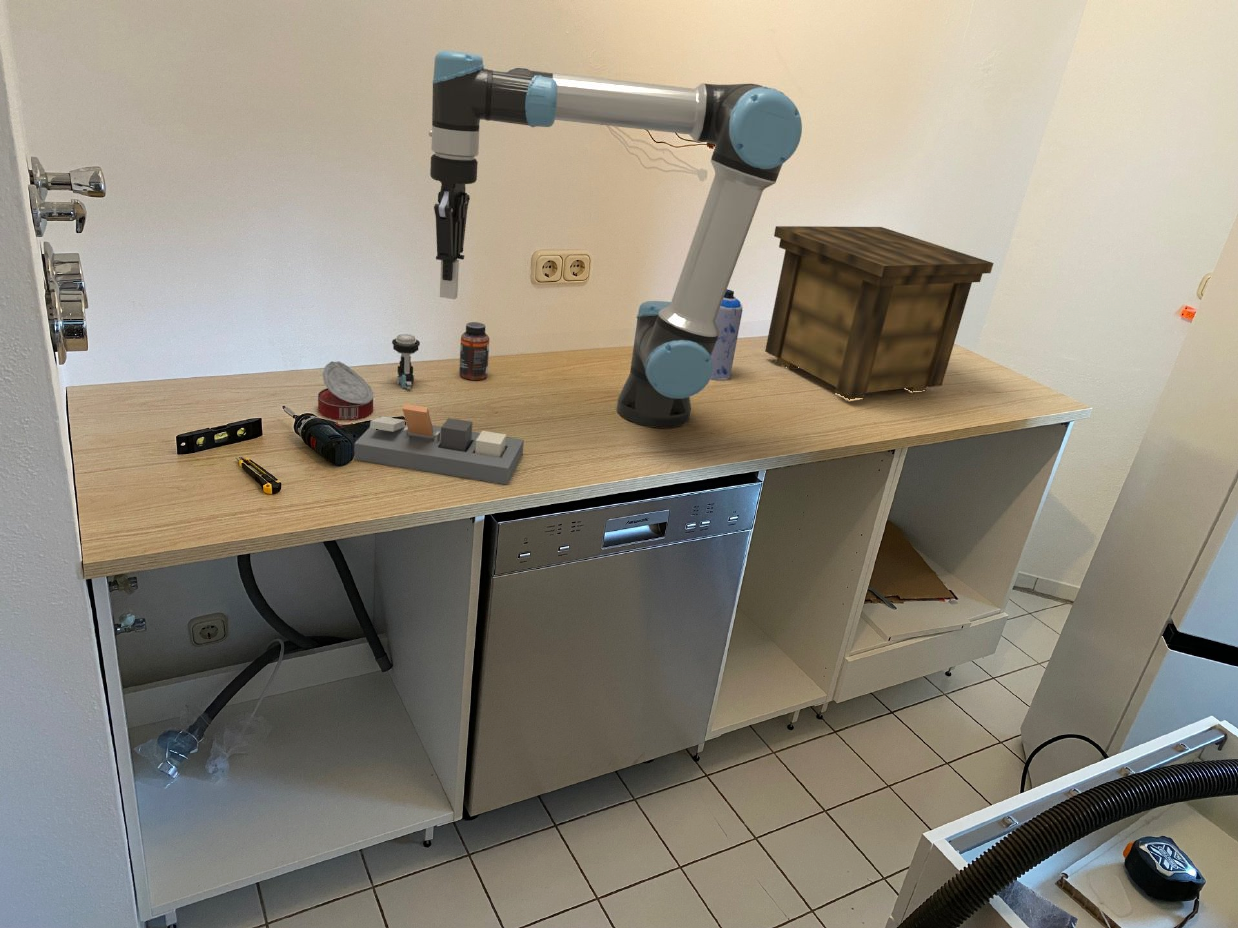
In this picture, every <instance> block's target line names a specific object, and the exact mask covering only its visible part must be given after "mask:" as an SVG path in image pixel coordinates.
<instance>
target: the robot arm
mask: <svg viewBox="0 0 1238 928" xmlns="http://www.w3.org/2000/svg"><path fill="white" fill-rule="evenodd" d="M483 60H484V59H483V57H482V56H481V55H479V54H476V53H469V52H462V51H455V50H441V51H438V52H437V54H436V55H435V56H434V64H433V65H434V66H433V78H432V105H431V106H432V109H431V110H432V112H431V116H432V117H431V119H432V120H431V129H430V130H429V131H428V136H429V137H431V151H432V152H434V154H433V153H432V156H430V172H429V174H430V178H431V179H433V180H435V181H437V182H440V183H441V186H440V191H438V193H437V203H435V204H434V206H433V211H434V216H435V231H436V233H435V234H436V235H435V236H436V237H435V238H436V257H435V260H438V261H440V278H439V279H440V281H439V283H440V284H439V297H440V298H444V299H451V300H456V299H457V298H458V293H459V291H458V290H459V270H460V269H459V268H460V260H464V259H465V255H464V254H463V252H464V244H465V234H466V228H467V227H466V225H467V218H468V209H469V203H470V199H471V197H470V195H469V194H468V192H466V189H467V188H466V185H470V184H471V185H472V184H475V183H476V182H477V179H478V164H479V163H478V160H477V159H476V157H478V155H479V150H480V149H479V148H480V122H481V120H484V121H487V122H488V121H492V122H500V123H505V124H506V123H507V124H514V125H522V126H530V127H531V128H535V127H537V128H538V127H542V128H549V127H552V126H553V125H554V124H555V121H563V122H571V123H573V122H574V123H580V124H581V123H582V124H589V125H591V124H592V125H597V126H598V125H600V126H607V127H608V126H609V127H610V126H611V127H617V128H618V127H619V128H626V129H627V128H628V129H636V130H646V131H655V132H662V133H663V132H664V133H675V134H681V135H689V136H690V137H691V138H692V140H693V142H703V143H708V144H712V145H715V146H714V148H713V151H712V155H711V158H710V163H711V165H712V167H713V169H714V173H715V174H714V176H713V180H712V182H711V184H710V185H711V186H710V188H709V191H708V194H707V197H706V199H705V202H704V206H703V209H702V211H701V215H700V217H699V220H698V223H697V227H696V229H695V232H694V235H693V237H692V240H691V244H690V245H689V250H688V251H687V252H688V253H687V256H686V257H685V261H684V265H683V267H682V270H681V273H680V275H679V278H678V281H677V284H676V287H675V289H674V293H673V296H672V298H671V301H664V300H663V301H662V300H649V301H648V300H647V301H644V302H642V303H640V305H639V307H638V313H637V315H636V319H637V320H636V327H635V333H634V341H633V348H632V354H631V355H632V357H631V362H630V364H631V365H630V371H629V375H628V377H627V379H626V381H625V383H624V384H623V386H622V389H621V391H620V393H619V395H618V397H617V404H616V411H617V413H618V414H619V415H620V416H621V417H622V418H624V419H625V420H627V421H629V422H632V423H634V424H638V425H640V426H645V427H651V428H660V429H661V428H662V429H668V428H677V427H682V426H684V425H686V424H687V423H689V421H690V419H691V413H692V404H691V398H690V397H693V396H695V395H697V394H698V393H700V392H702V391H703V390H704V389H705V387H706V386H707V385H708V384H709V382H710V381H711V379H710V378H711V375H712V370H713V366H712V365H713V361H712V358H711V355H712V352H713V349H714V347H715V344H716V341H717V339H718V336H719V333H720V332H719V329H718V327H717V325H716V323H715V320H716V317H717V314H718V312H719V309H720V306H721V303H722V301H723V298H724V295H725V293H726V290H727V289H728V287H729V284H730V281H731V279H732V277H733V276H732V275H733V273H734V271H735V268H736V266H737V262H738V259H739V257H740V254H741V251H742V249H743V247H744V243H745V241H746V238H747V235H748V233H749V231H750V228H751V225H752V222H753V219H754V217H755V213H756V211H757V209H758V206H759V203H760V200H761V197H762V195H763V192H764V190H765V189H767V188H769V187H771V186H773V185H775V184H776V183H777V180H778V177H779V174H780V172H781V170H782V166H783V165H784V164H785V163H786V162H787V161H788V160H790V158H791V157H792V156H793V155H794V153H795V152H796V151H797V148H798V146H799V145H800V142H801V138H802V132H803V123H802V118H801V115H800V112H799V109H798V107H797V106H796V104H795V103H794V101H793V100H792V99H791V98H790V97H789V96H787V95H786V94H785V93H784V92H782V91H781V90H778V89H776V88H774V87H773V88H772V87H767V86H763V85H761V84H757V83H736V84H734V83H733V84H713V83H702V82H701V83H700V84H699V85H698V86H697V87H695V88H692V87H682V86H673V85H665V84H664V85H663V84H655V83H646V82H638V81H637V82H636V81H629V80H621V79H610V78H602V77H601V78H600V77H595V76H594V77H591V76H583V75H574V74H566V73H556V72H551V73H550V72H546V71H538V70H530V69H529V68H524V67H515V68H513V69H511V68H510V69H509V70H508V71H498V70H492V69H488V68H484V67H485V65H484V61H483Z"/></svg>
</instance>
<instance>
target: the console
mask: <svg viewBox="0 0 1238 928" xmlns="http://www.w3.org/2000/svg"><path fill="white" fill-rule="evenodd" d="M380 417H381V416H379V417H378V418H380ZM405 422H406V420H405ZM442 426H443V425H435V424H432V427H433V431H434V432H435V437H434V439H428V438H422V437H416V436H409V435H408V427H407V424H406V425H405V426H404V427H403V428H401V429H398V430H396V431H394V432H392V431H386V430H380V429H378V430H376V429H374V428H370V427H368V428H367V430H366V431H365V432H364V433H363V434H362V435H361V436H359V438H358V439H357V440H356V441H355V442H354V451H353V452H354V461H362V462H368V463H373V464H379V465H385V466H391V467H396V468H397V467H398V468H402V469H403V468H404V469H407V470H408V469H410V470H415V471H422V472H427V473H432V474H433V473H434V474H439V475H447V476H451V477H458V478H464V479H471V480H474V481H475V480H477V481H481V480H482V481H483V482H489V483H495V484H501V485H508V484H509V482H510V480H511V478H512V477H513V474H514V472H515V470H516V468H517V467H518V465H519V463H520V461H521V459H522V457H523V455H524V454H523V453H524V442H525V440H524V439H521V438H517V437H516V438H514V437H510V436H509V437H508V436H506V445H505V452H504V454H503V456H502V458H500V457H494V456H487V455H481V454H475V447H476V439H477V438H478V436H479V435H480V433H481V432H479V431H473V430H472V437H471V444H470V446H469V447H468V449H467V450H466V452H463V451H457V450H451V449H444V448H440V444H441V427H442Z"/></svg>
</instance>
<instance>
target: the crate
mask: <svg viewBox="0 0 1238 928" xmlns="http://www.w3.org/2000/svg"><path fill="white" fill-rule="evenodd" d="M773 236H774V237H775V238H778V239H780V240H779V245H778V248H779V249H781V250H782V249H783V250H785V251H784V256H783V261H782V266H781V271H780V276H779V280H778V285H777V289H776V290H777V291H776V295H775V300H774V306H773V311H772V315H771V320H770V325H769V331H768V335H767V341H766V345H765V349H764V352H765V353H767V354H769V355H770V356H772V357H774V358H777V359H776V364H778V365H779V364H780V366H781V365H783V366H784V367H783V366H782V367H783V368H785V367H787V368H788V369H787V368H786V369H787V370H794V369H793V368H798V367H799V368H798V369H802V370H803V371H805V372H807V373H809V374H811V375H813V376H814V377H817V378H818V379H820V380H822V381H823V382H826V383H828V384H830V385H832V386H834V387H835V390H834V394H835V393H837V394H840V395H841V396H844V397H845V398H848V399H849V400H850V399H855V398H863V399H864V397H865V396H866V394H867V393H875V392H884V391H890V390H891V391H892V390H898V389H899V390H900V389H901V390H902V388H906V389H908V390H910V391H912V392H913V391H923V390H925V391H926V389H927V388H933V387H941V386H943V382H944V379H945V376H946V372H947V368H948V366H949V362H950V359H951V355H952V352H953V348H954V347H955V346H954V345H955V342H956V338H957V336H958V335H957V334H958V331H959V329H960V324H961V322H962V318H963V314H964V312H965V308H966V304H967V300H968V297H969V294H970V291H971V287H972V284H973V283H981V281H982V277H983V275H984V274H991V273H992V270H993V266H994V262H992V261H989V260H987V259H986V260H985V259H982V258H979V257H976V256H973V255H970V254H967V253H964V252H960V251H957V250H955V249H950V248H948V247H945V246H942V245H938V244H935V243H932V242H929V241H926V240H924V239H923V240H922V239H920V238H917V237H914V236H910V235H908V234H904V233H901V232H899V231H895V230H892V229H889V228H886V227H883V226H825V225H824V226H821V225H820V226H817V225H816V226H815V225H814V226H806V225H805V226H804V225H803V226H802V225H801V226H797V225H796V226H795V225H793V226H791V225H790V226H789V225H788V226H787V225H786V226H785V225H783V226H782V225H778V226H775V229H774V233H773Z"/></svg>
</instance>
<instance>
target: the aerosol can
mask: <svg viewBox="0 0 1238 928" xmlns="http://www.w3.org/2000/svg"><path fill="white" fill-rule="evenodd" d="M734 292H735V291H733V290H731V289H728V288H727V290H726V293H725V295H724V298H723V301H722V303H721V306H720V309H719V312H718V314H717V317H716V320H715V323H716V325H717V327H718V329H719V332H720V333H719V336H718V339H717V341H716V344H715V347H714V349H713V352H712V355H711V358H712V361H713V365H712V366H713V370H712V375H711V378H710V381H711V380H713V381H721V382H722V381H728V380H730V379H731V378H732V369H733V364H734V357H735V352H736V347H737V343H738V342H737V341H738V336H739V331H740V328H741V327H740V326H741V321H742V320H741V319H742V315H743V304H741V301H740V300H739V299H738V298H736V296H734V294H735V293H734Z"/></svg>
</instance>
